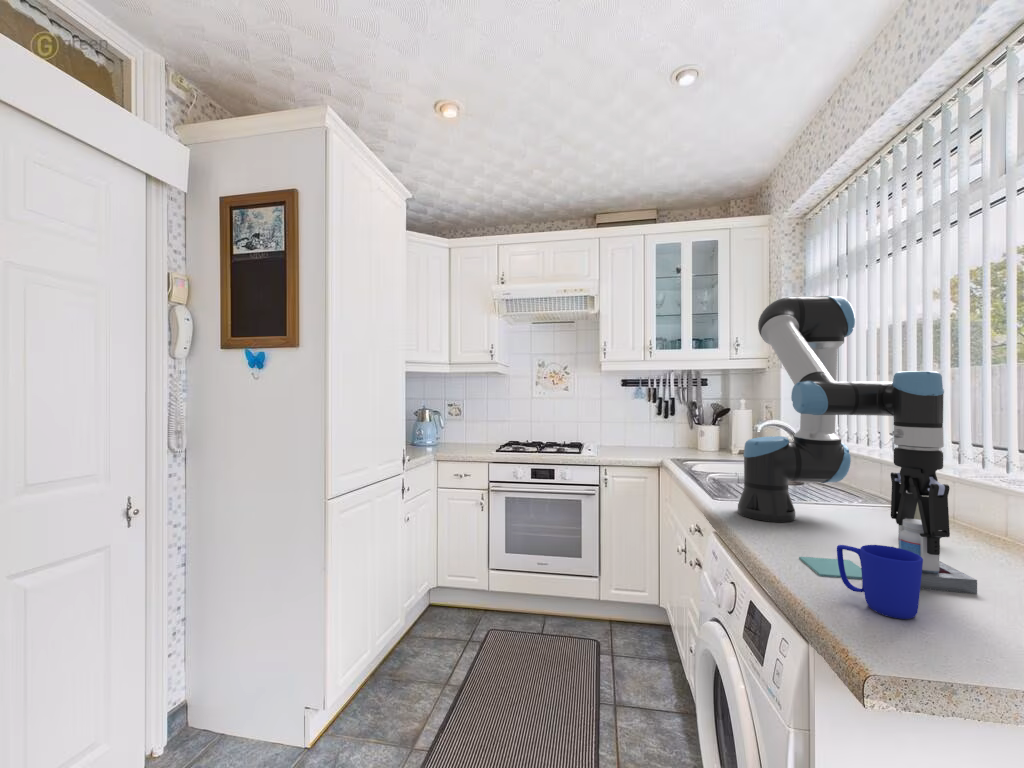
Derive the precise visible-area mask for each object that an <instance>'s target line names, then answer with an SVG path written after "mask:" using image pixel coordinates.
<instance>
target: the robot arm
mask: <svg viewBox="0 0 1024 768" xmlns="http://www.w3.org/2000/svg"><path fill="white" fill-rule="evenodd" d="M855 325H856V316H855V311H854V308H853V306H852V304H851V302H849V300H848V299H846V298H845V297H843V296H836V295H835V296H833V295H832V296H831V295H819V296H816V295H815V296H790V297H789V296H787V297H782V298H778V299H776V300H774V301H773V302H771V303H770V304H768V305H767V306H766V307H765V308H764V309H763V310H762V313H761V314H760V316H759V318H758V322H757V329H758V333H759V336H760V337H761V339H762V340H763V341H764V342H765V344H767V345H770V347H771V348H772V349H773V351H774V353H775V354H776V356H777V358H778V360H779V362H780V363H781V364H782V366H783V368H784V370H785V371H786V373H787V375H788V376H789V378H790V379H791V381H792V383H793V387H792V389H791V397H790V398H791V402H792V407H793V409H794V410H795V412H797V413H799V414H800V415H799V416H800V419H799V421H800V422H799V423H800V424H799V425H800V427H799V430H798V431H796V432H795V433H794V434H793V441H790V440H789V438H788V437H787V436H781V435H778V436H775V435H774V436H773V435H772V436H771V435H770V436H759V437H754V438H749V439H748V440H746V441H745V443H744V448H743V449H744V450H743V467H744V468H743V473H744V474H743V481H744V482H743V483H744V485H743V490H742V492H741V496H740V498H739V501H738V503H737V513H738V515H740V516H743V517H745V518H748V519H752V520H757V521H761V522H762V521H763V522H772V523H788V522H794V521H795V520H796V509H795V507H794V504H793V501H792V498H791V495H790V492H789V482H802V483H803V482H806V483H820V484H826V483H838V482H841V481H842V480H844V478H846V477H847V475H848V473H849V470H850V467H851V461H852V460H851V459H852V458H851V453H850V448H849V447H848V446H847V445H846V444H845V443H843V442H842V437H841V436H840V435H839V434H838V433H837V432H836V416H838V415H839V416H843V415H844V416H887V417H893V430H892V435H893V444H894V445H895V446H897V447H894V448H893V464H894V465H895V466H896V467H900V469H899V472H891V473H890V480H891V495H890V496H891V498H890V501H891V502H890V518H891V519H892V520H895V523H896V525H898V533H899V532H900V531H902V530H904V529H905V528H904V527H903V519H914V515H915V511H916V506H917V502H918V507H919V512H920V517H921V522H922V527H923V532H924V533H920V541H921V557H922V558H923V566H922V570H928V571H939V561H940V553H941V539H942V538H950V534H951V533H950V530H951V529H950V515H949V498H948V497H949V493H950V489H951V488H950V486H949V484H945V483H944V484H943V483H941V482H939V481H938V477H937V471H938V470H939V471H940V470H943V469H944V452H943V451H942V450H941V449H942V448H943V447H944V426H943V425H944V394H945V389H944V387H943V376H942V373H940V372H939V371H934V370H911V371H910V370H908V371H907V370H905V371H904V370H903V371H902V370H901V371H897V372H895V373H894V375H893V378H892V381H837V378H838V377H837V375H838V374H837V373H838V371H837V370H838V349H839V348H840V347H841V346H842V345H843V344H844V343H845V338H846V337H849V336H850V335H851V334H852V333H853V331H854V329H853V328H855Z"/></svg>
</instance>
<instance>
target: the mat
mask: <svg viewBox="0 0 1024 768" xmlns="http://www.w3.org/2000/svg"><path fill="white" fill-rule="evenodd" d="M798 558H799V560H800V561H802V562H803V563H804V564H805V565H806V566H808V567H809V568H810V569H811V570H813V572H815V573H816V574H817V575H818V576H819V577H827V578H828V577H829V578H840V579H841V576H840V572H839V566H838V559H837V558H829V557H828V558H826V557H825V558H824V557H812V556H811V557H810V556H798ZM843 561H844V568H845V573H846V576H847V579H855V580H862V570H861V566H859V565H858V564H856V563H854V562H853V561H852V560H850V559H843Z"/></svg>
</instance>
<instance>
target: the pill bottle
mask: <svg viewBox="0 0 1024 768" xmlns="http://www.w3.org/2000/svg"><path fill="white" fill-rule="evenodd" d="M903 527H904V528H905V529H904V530H902V531H900V532H899V531H898V535H897V536H898V537H897V539H898V541H897V542H898V546H897V548H900V549H904V550H907V551H910V552H913V553H915V554H918V555H919V556H921V541H920V533H924V532H923V527H922V522H921V520H918V519H903ZM922 572H930V573H939V571H928V570H922Z"/></svg>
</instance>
